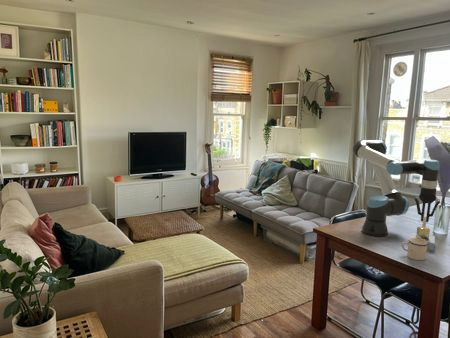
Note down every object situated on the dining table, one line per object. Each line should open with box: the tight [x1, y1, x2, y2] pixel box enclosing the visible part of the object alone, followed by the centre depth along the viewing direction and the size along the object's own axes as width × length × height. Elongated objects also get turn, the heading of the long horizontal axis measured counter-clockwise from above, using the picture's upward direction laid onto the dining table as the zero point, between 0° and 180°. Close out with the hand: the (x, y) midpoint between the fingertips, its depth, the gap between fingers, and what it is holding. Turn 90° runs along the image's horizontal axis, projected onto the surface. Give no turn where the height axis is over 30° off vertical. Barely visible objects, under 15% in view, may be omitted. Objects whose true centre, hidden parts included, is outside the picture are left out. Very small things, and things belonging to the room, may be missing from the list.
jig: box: [409, 232, 436, 252], centre depth 194 cm, size 12×12×4 cm
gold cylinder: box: [416, 226, 431, 240], centre depth 194 cm, size 6×6×10 cm
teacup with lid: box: [401, 236, 428, 261], centre depth 178 cm, size 12×9×12 cm
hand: (423, 227), depth 193 cm, fingers closed
